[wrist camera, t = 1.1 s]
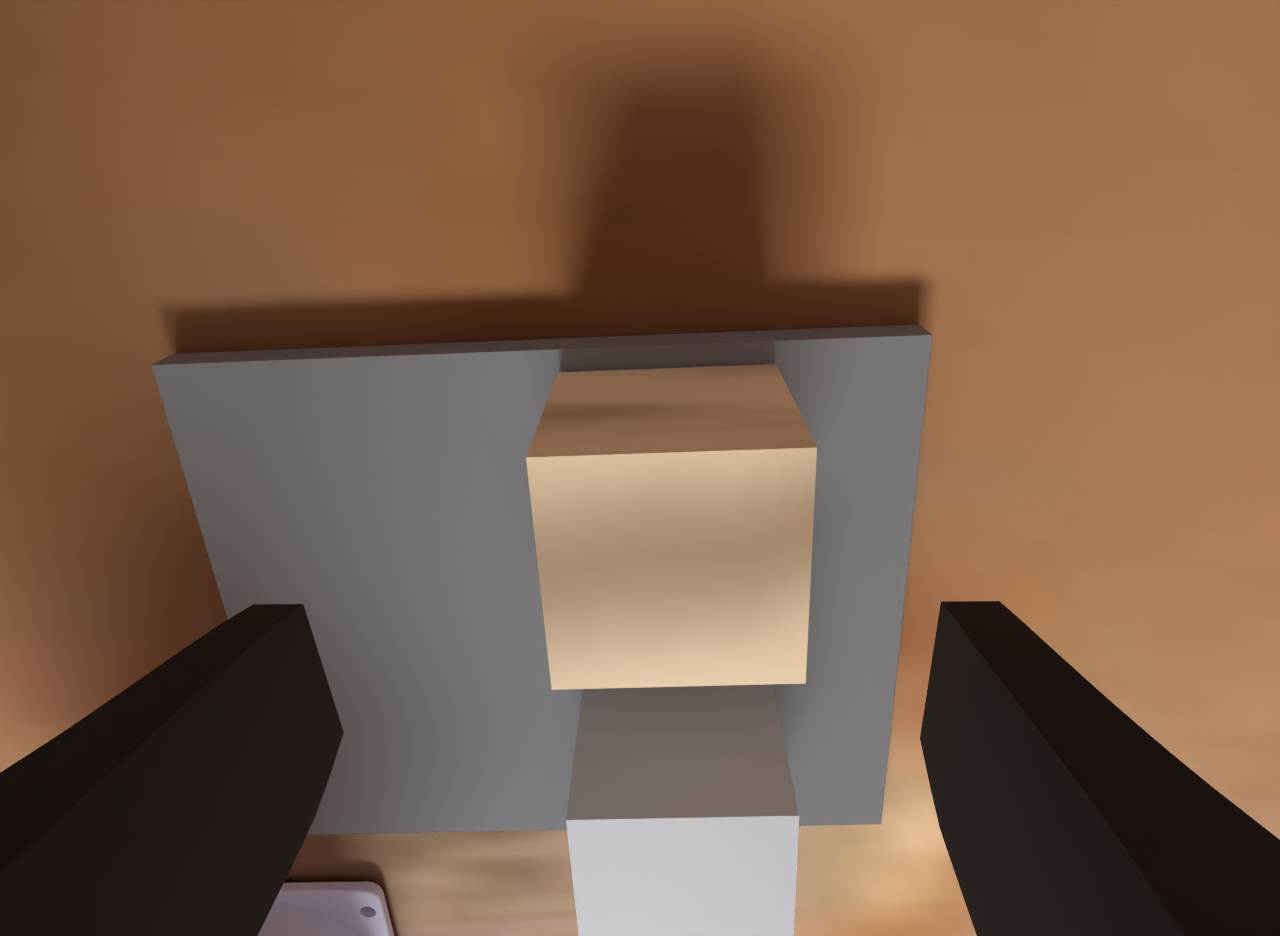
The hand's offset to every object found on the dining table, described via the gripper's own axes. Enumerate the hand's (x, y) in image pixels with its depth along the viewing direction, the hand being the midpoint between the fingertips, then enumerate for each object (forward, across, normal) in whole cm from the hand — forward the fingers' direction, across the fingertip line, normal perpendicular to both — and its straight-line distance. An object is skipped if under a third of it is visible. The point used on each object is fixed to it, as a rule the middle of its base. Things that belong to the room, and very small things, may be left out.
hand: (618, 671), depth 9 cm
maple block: (+10, 0, +3) cm, 10 cm away
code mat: (+11, +3, +7) cm, 13 cm away
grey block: (+9, 0, +11) cm, 15 cm away
